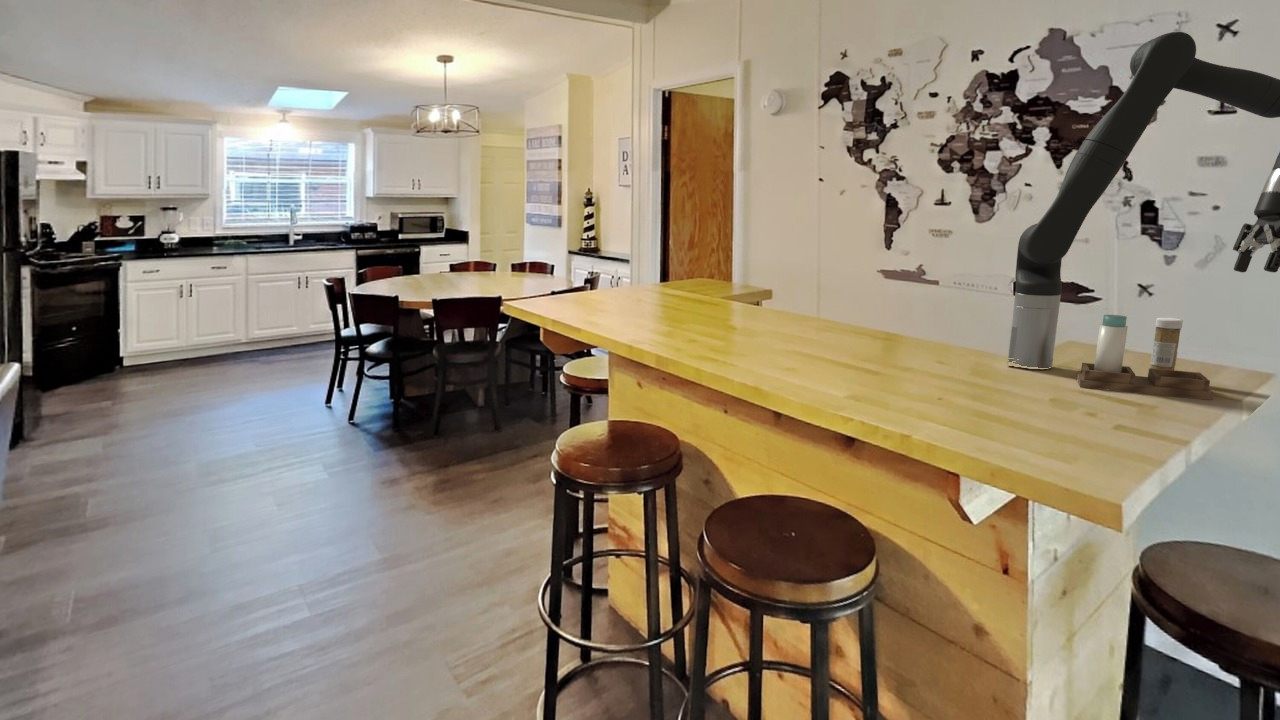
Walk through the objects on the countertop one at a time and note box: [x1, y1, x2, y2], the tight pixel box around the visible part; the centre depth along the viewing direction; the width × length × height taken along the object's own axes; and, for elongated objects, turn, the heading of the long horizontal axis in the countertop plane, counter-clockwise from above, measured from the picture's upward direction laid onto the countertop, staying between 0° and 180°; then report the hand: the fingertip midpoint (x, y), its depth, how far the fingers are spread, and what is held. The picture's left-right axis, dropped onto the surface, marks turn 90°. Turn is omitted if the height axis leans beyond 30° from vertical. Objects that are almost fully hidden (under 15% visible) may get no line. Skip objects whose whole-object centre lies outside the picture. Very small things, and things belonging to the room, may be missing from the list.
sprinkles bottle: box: [1149, 317, 1184, 370], centre depth 151 cm, size 5×5×13 cm
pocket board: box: [1075, 362, 1214, 401], centre depth 145 cm, size 22×10×4 cm, turn 62°
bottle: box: [1094, 314, 1129, 373], centre depth 147 cm, size 5×5×13 cm
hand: (1254, 271), depth 147 cm, fingers open, 8 cm apart
